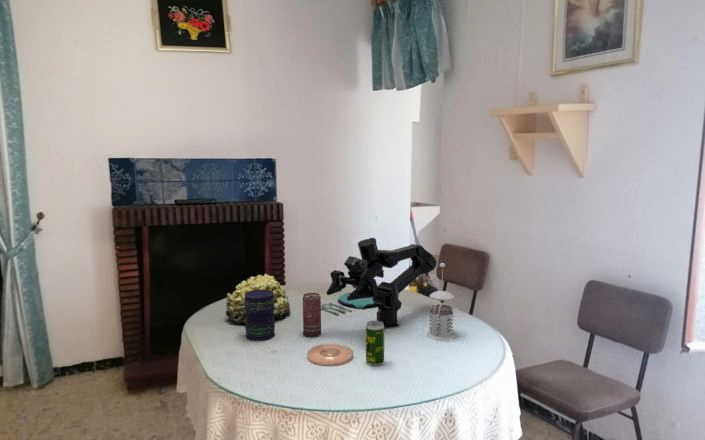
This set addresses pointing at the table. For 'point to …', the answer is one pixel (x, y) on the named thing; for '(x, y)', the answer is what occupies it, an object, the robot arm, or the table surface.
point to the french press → (441, 316)
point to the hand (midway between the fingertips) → (337, 296)
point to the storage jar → (259, 315)
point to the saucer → (330, 354)
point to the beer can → (375, 343)
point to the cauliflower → (265, 282)
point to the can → (311, 314)
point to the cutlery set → (349, 303)
